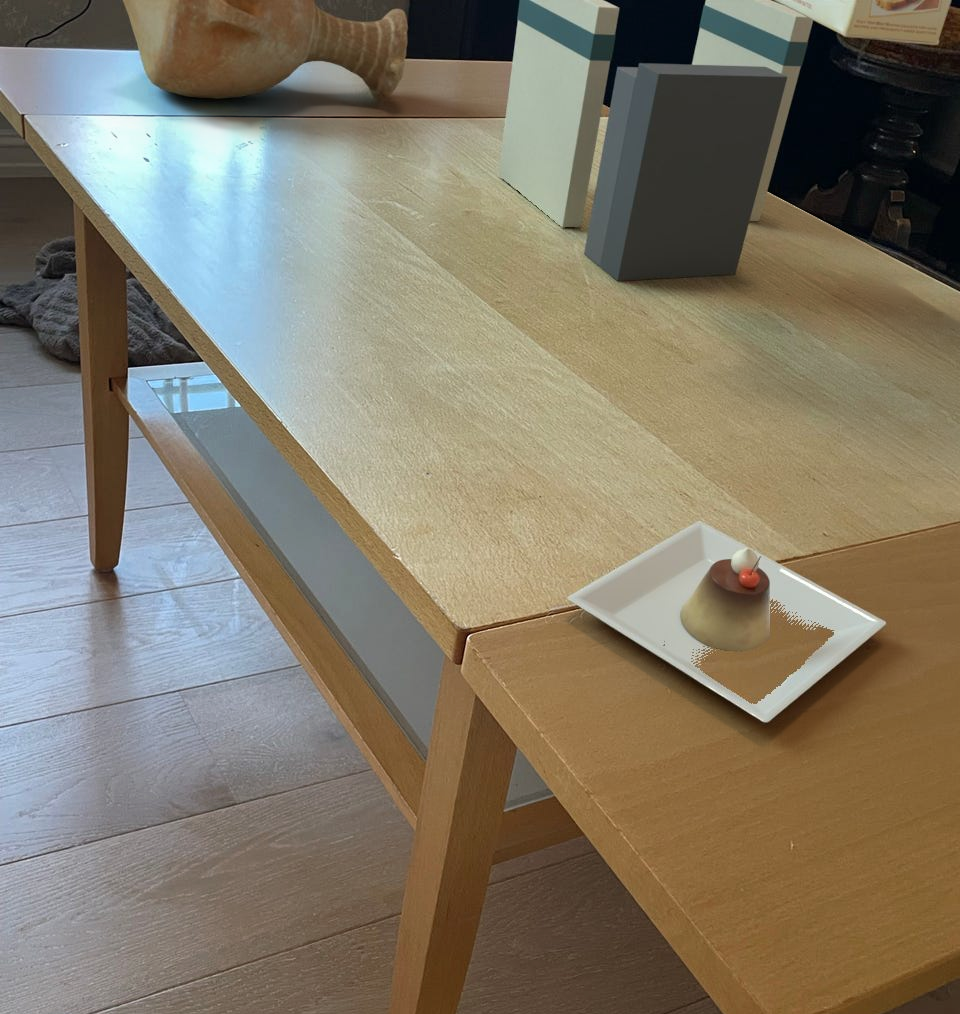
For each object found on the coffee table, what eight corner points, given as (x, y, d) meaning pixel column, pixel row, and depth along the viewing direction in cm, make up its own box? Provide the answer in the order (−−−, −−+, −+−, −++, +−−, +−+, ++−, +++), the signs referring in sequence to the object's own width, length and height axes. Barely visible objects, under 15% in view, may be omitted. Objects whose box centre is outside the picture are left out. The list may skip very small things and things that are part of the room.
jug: (94, -63, 123) (359, -11, 137) (105, 118, 124) (368, 152, 137) (125, -179, 105) (427, -106, 119) (138, 33, 106) (436, 83, 119)
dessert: (759, 740, 53) (789, 661, 50) (562, 614, 59) (578, 536, 56) (880, 639, 61) (912, 564, 58) (694, 536, 67) (715, 463, 64)
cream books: (684, 173, 123) (726, -18, 112) (760, 221, 113) (815, 17, 102) (497, 176, 114) (523, -31, 103) (562, 228, 105) (598, 6, 94)
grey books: (698, 248, 105) (744, 56, 95) (735, 274, 101) (787, 76, 91) (583, 253, 100) (619, 52, 90) (617, 281, 96) (658, 73, 86)
